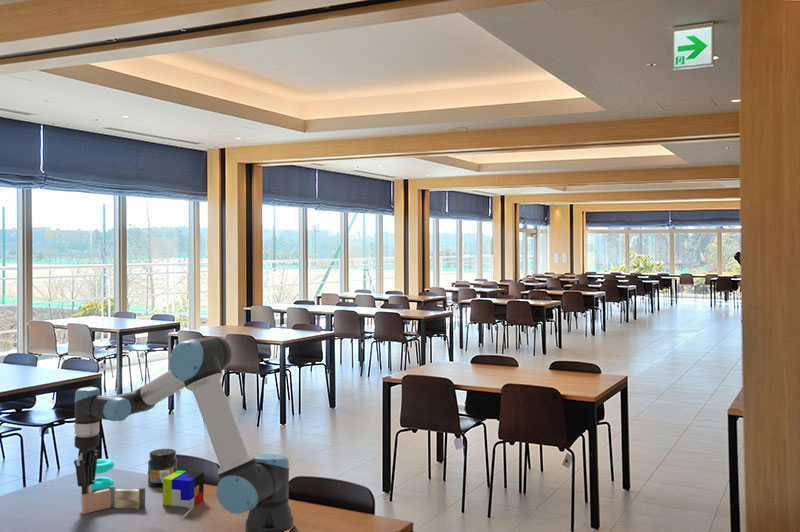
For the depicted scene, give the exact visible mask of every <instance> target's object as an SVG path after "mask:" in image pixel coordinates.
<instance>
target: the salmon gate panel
mask: <svg viewBox="0 0 800 532" xmlns="http://www.w3.org/2000/svg"><path fill="white" fill-rule="evenodd" d="M115 490H116V486H115V485H113V486H110V487H109V488H107V489H103V490H95V491H91V493H87V494H82V505H81V510H80V511H81V514H83V515H85V514H86V515H87V514H89V513H93V512H97V511H101V510H106V509H109V508H115Z"/></svg>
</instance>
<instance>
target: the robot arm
mask: <svg viewBox="0 0 800 532" xmlns="http://www.w3.org/2000/svg"><path fill="white" fill-rule="evenodd" d="M232 359H233V350H232V347H231V345H230V344H229V342H228V341H227V340H225V339H224V338H221V337H218V336H208V337H200V338H191V339H187V340H185V341H181V342H179V343H177V344H176V345H175V346H174V347H173V349H172V350H171V354H170V355H169V359H168V360H169V362H168V363H169V370H168V371H166V372H165V373H162V374H161V375H159V376H158V377H156V378H154V379H152V380H150V381H149V382H147V383H146V384H143V385H142V386H141V387H139V388H137V389H134V390H133V391H130V392H125V393H120V394H117V395H115V394H114V395H111V396H110V395H108V396H107V395H101V391H100V388H99V387H95V386H88V387H81V388H78V389H77V390H76V391H75V393H74V395H75V396H74V424H73V427H74V434H75V436H74V448H76V449H78V453H77V456H78V458H77V459H74V461H73V464H74V466H75V474H76V479H77V480H76V481H77V487H81V491H80V492H81V494H80V495H81V496H80V497H81V498H80V499H81V500H80V502H81V503H80V505H81V506H82V494H87V493H91V492H92V490H91V486H92V485H91V484H94V483H95V482H93V480H95V478H96V466H97V459H98V458H99V454H100V453H99V452H100V451H99V450H96V447H98V446H99V445H100V434H99V433H100V420H105V421H110V422H111V421H112V422H123V421H125V420H126V419H127V418H128V417H129V416H131V415H134V414H139V413H144V412H147V411H150V410H152V409H153V408H154V407H155V406H156V405H157V404H158V403H159V402H162V401H163V400H166V399H167V398H168V397H170V396H172V395H174V394H176V393H177V392H179V391H181V390H183V389H186V390H188V391H191V392H192V394H193V396H194V399H195V401H196V404H197V407H198V409H199V412H200V415H201V418H202V420H203V422H204V426H205V428H206V431H207V434H208V436H209V439H210V442H211V445H212V448H213V450H214V452H215V455H216V458H217V462H218V463H219V469H218V471H217V473H216V474H217V476H218V479H219V481H218V483H217V486H216V487H217V488H216V489H215V490H216V491H215V493H216V494H215V495H216V498H217V500H218V503H219V504H220V506H221V507H222V508H223V509H225V510H226V511H228V512H230V513H231V514H235V515H237V514H239V515H240V514H243V513H246V512H248V514H247V519H246V520H245V524H244V525H245V528H244V530H245V532H284V531H287V530H289V529H291V528H292V527H293V525H294V524H295V522H294V521H295V520H294V516H293V515H292V514H293V513H292V510H291V507H290V504H289V487H290V485H289V483H290V481H289V480H290V479H289V478H290V463H289V458H287V457H286V456H284V455H282V454H273V453H263V454H262V453H260V454H259V453H258V454H255V455H253V456H252V455H250V454H248V452H247V449H246V447H245V444H244V441H243V438H242V436H241V433H240V430H239V427H238V425H237V422H236V420H235V419H236V418H235V417H234V415H233V411H232V409H231V405H230V404H229V402H228V401H229V400H228V398H227V396H226V394H225V391H224V387H223V385H222V382H221V379H222V377H223V371H224V370H226V369H227V368H228V367H229V366H230V364H231V362H232ZM294 526H295V525H294Z"/></svg>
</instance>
